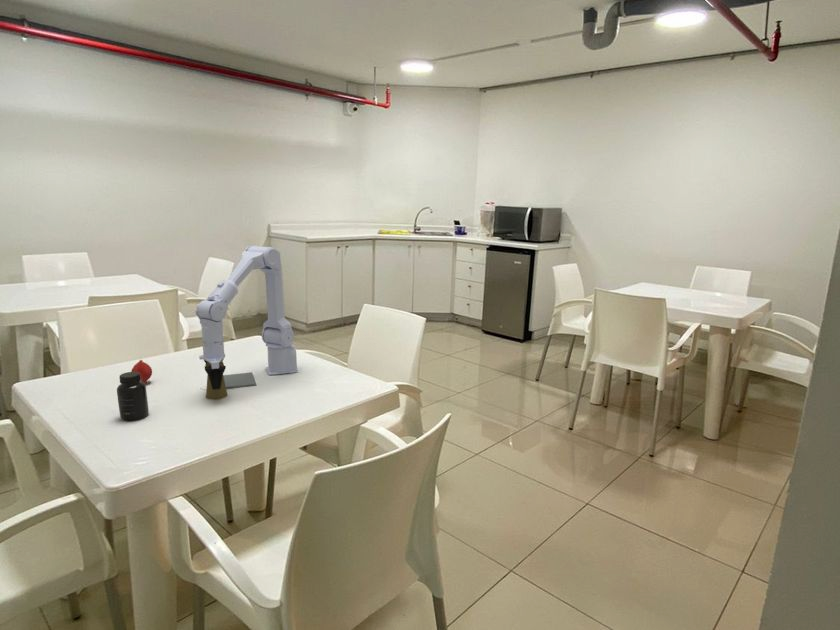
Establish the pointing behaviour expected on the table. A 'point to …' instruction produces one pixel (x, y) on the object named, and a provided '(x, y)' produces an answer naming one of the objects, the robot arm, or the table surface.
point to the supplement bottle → (132, 397)
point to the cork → (215, 393)
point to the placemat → (239, 380)
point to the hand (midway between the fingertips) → (215, 384)
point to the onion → (143, 370)
